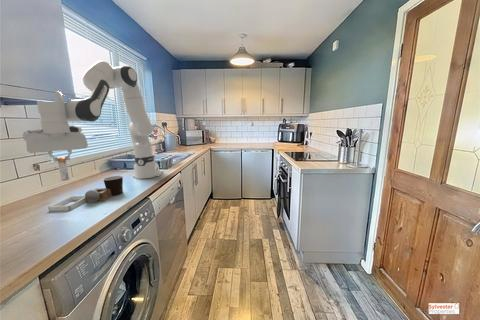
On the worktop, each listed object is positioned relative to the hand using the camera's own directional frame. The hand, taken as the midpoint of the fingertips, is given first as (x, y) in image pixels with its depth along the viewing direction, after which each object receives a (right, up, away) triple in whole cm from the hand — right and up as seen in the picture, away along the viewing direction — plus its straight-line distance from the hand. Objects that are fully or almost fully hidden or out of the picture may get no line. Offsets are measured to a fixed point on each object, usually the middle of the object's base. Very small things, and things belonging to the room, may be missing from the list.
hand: (62, 160), depth 93 cm
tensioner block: (+10, -20, +11) cm, 25 cm away
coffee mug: (+14, -19, +19) cm, 30 cm away
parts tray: (+1, -21, +4) cm, 22 cm away
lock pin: (0, -9, +2) cm, 9 cm away
